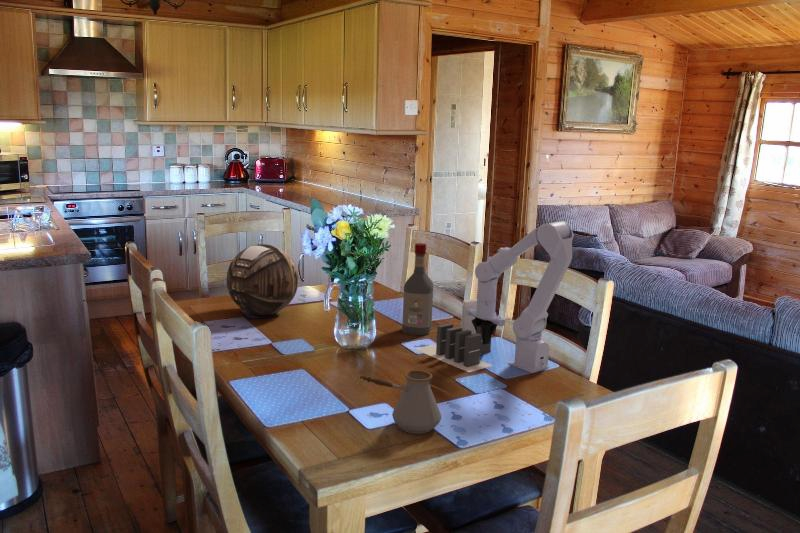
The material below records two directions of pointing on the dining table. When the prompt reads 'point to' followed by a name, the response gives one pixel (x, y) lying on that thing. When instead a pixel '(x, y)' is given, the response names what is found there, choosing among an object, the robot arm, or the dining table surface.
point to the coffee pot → (414, 402)
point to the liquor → (418, 297)
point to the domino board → (432, 352)
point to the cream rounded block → (467, 320)
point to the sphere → (262, 279)
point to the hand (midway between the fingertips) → (483, 342)
